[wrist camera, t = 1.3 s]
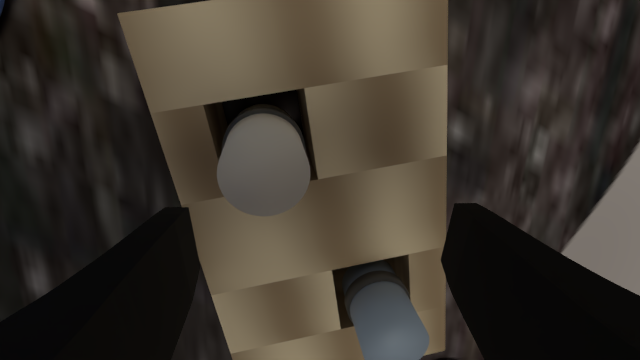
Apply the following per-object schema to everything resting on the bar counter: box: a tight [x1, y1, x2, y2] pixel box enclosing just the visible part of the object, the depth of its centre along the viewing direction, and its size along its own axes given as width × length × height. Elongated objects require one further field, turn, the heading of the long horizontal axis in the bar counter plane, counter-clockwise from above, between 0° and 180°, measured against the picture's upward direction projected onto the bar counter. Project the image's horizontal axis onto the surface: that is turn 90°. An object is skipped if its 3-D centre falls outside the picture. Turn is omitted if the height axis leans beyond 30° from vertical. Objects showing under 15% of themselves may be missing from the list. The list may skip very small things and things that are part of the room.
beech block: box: [117, 0, 448, 360], centre depth 19 cm, size 12×20×5 cm, turn 8°
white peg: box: [217, 104, 310, 216], centre depth 13 cm, size 3×3×4 cm
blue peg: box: [342, 260, 429, 360], centre depth 17 cm, size 3×3×4 cm
